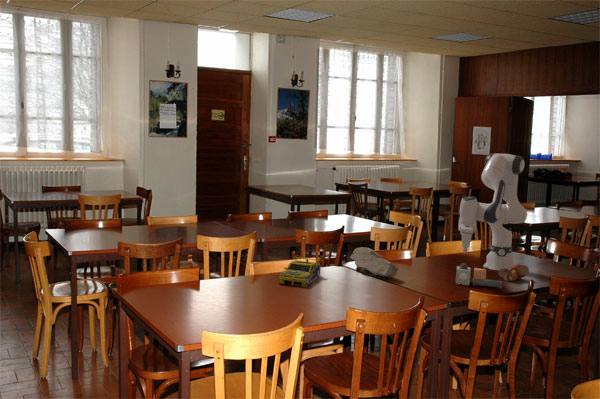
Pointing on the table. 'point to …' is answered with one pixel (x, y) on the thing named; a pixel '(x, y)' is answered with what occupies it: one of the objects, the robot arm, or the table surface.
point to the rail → (490, 283)
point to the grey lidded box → (463, 276)
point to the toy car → (300, 272)
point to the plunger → (463, 266)
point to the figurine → (514, 272)
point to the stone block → (373, 262)
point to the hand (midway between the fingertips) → (464, 252)
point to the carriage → (479, 276)
